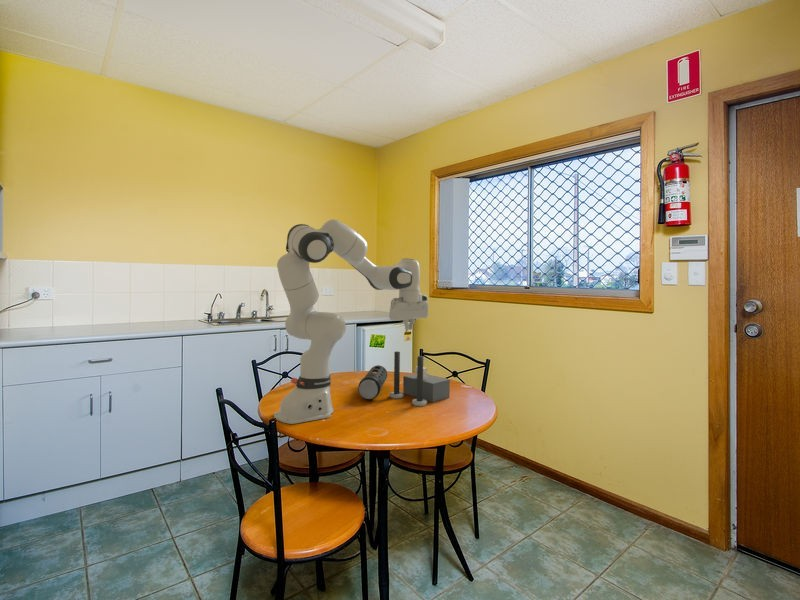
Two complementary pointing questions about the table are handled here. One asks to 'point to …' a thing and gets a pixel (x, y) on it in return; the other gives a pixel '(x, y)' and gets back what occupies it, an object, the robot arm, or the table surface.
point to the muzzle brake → (372, 382)
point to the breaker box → (427, 387)
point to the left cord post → (396, 377)
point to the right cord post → (419, 384)
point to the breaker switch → (423, 373)
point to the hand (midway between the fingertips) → (408, 329)
